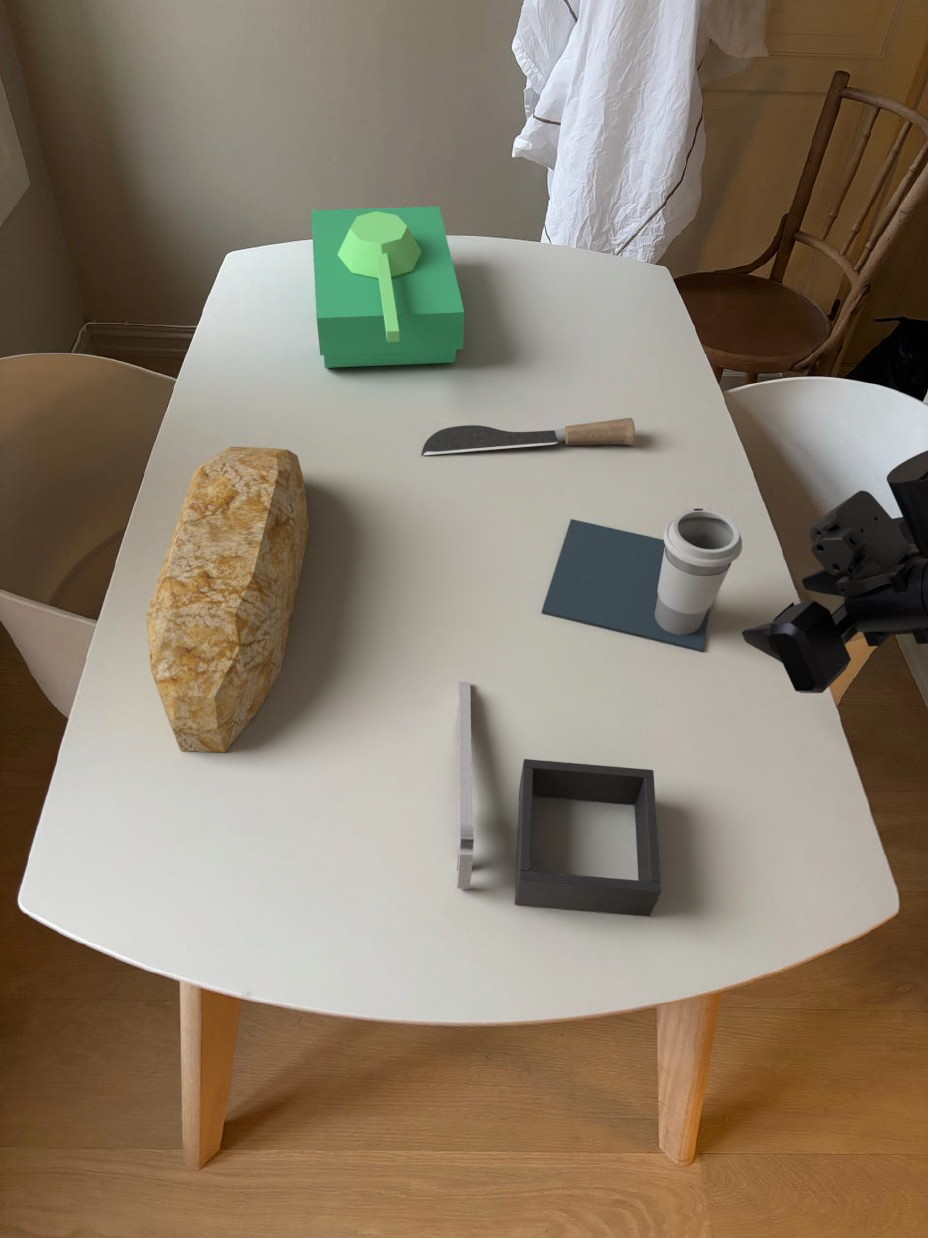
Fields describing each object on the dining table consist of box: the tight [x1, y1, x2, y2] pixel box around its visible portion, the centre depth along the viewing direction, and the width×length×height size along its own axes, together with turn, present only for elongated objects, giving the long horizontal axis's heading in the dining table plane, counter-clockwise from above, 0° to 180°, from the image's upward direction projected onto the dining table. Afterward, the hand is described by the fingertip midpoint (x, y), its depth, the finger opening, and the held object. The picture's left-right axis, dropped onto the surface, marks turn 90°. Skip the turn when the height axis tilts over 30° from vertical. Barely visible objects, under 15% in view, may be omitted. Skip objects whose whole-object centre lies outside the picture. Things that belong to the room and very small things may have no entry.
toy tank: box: [310, 206, 465, 369], centre depth 120 cm, size 18×12×35 cm
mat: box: [541, 518, 711, 653], centre depth 96 cm, size 16×14×1 cm
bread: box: [145, 446, 310, 753], centre depth 89 cm, size 36×11×10 cm, turn 178°
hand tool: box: [421, 417, 636, 456], centre depth 110 cm, size 6×3×25 cm
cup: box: [655, 507, 743, 635], centre depth 88 cm, size 7×7×12 cm
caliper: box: [456, 681, 475, 890], centre depth 78 cm, size 20×1×6 cm, turn 0°
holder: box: [514, 758, 662, 917], centre depth 75 cm, size 11×11×4 cm
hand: (774, 609), depth 82 cm, fingers open, 9 cm apart
